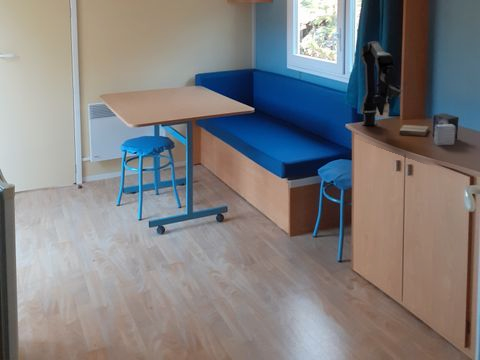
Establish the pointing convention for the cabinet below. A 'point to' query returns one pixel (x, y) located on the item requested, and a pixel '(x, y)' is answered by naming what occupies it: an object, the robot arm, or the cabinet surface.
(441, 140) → the medicine box
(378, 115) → the maple cube
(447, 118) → the small box
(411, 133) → the beige flat square slab
